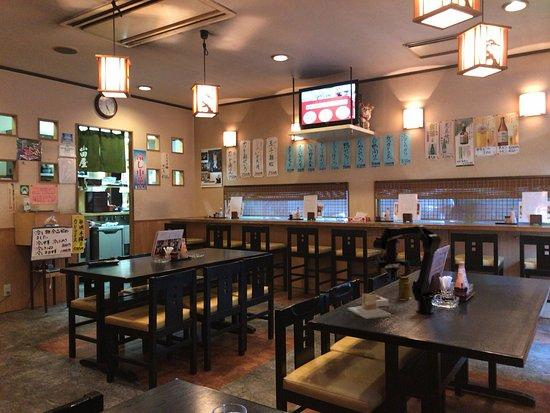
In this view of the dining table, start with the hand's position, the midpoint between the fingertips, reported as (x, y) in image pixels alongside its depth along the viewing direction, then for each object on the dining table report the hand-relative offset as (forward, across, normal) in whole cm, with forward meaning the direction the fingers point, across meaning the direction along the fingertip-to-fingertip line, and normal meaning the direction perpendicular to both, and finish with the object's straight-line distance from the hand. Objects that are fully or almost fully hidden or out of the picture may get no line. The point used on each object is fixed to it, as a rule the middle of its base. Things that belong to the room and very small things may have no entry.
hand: (391, 280), depth 232 cm
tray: (+13, +20, +11) cm, 26 cm away
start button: (+12, +8, -3) cm, 15 cm away
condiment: (+13, -14, -10) cm, 22 cm away
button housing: (+13, +8, -3) cm, 16 cm away
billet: (+12, +20, +11) cm, 26 cm away
